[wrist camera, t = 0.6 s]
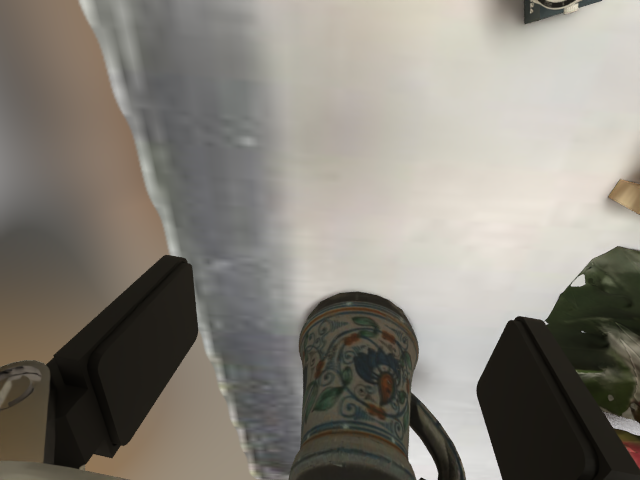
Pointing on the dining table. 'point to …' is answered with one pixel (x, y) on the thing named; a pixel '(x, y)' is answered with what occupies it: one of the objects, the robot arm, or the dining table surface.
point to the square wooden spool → (627, 195)
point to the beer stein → (363, 395)
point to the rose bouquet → (605, 335)
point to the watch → (551, 8)
